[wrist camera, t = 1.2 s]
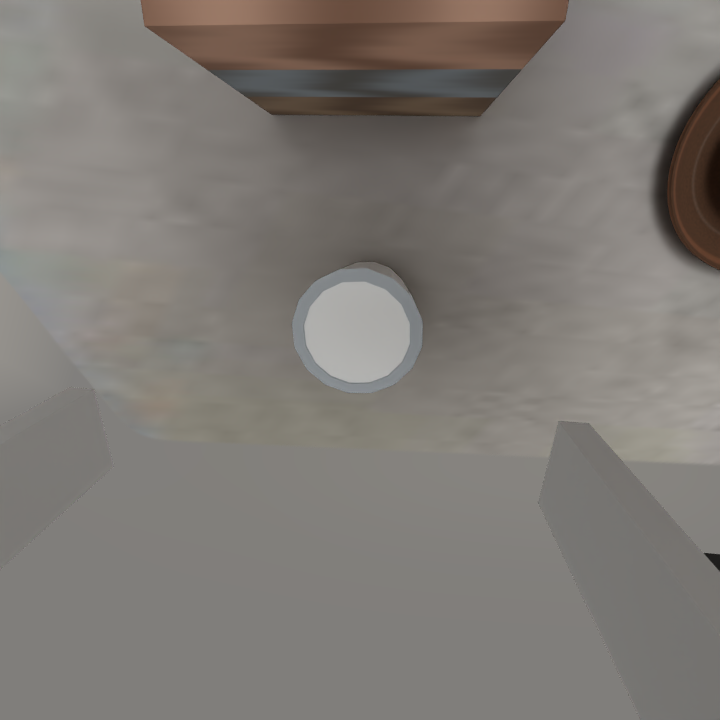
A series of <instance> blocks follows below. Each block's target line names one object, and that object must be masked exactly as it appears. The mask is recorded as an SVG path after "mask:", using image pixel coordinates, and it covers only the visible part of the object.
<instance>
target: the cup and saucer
mask: <svg viewBox="0 0 720 720" xmlns="http://www.w3.org/2000/svg"><path fill="white" fill-rule="evenodd" d="M667 197H668V207H669V213H670V217H671V221H672V224H673V226H674V228H675V231H676V233H677V235H678V236H679V238H680V240H681V241H682V242H683V244H684V245H685V246H686V248H687V249H688V250H689V251H690V252H691V253H692V254H693V255H695V256H696V257H697V258H699V259H700V260H701V261H703V262H705V263H706V264H708V265H710V266H712V267H714V268H716V269H719V270H720V79H719V80H718V81H717V82H716V83H715V84H714V86H713V87H712V88H711V89H710V90H709V92H708V93H707V94H706V95H705V97H704V98H703V99H702V101H701V102H700V103H699V105H698V106H697V108H696V109H695V111H694V112H693V114H692V116H691V117H690V119H689V120H688V122H687V124H686V126H685V128H684V130H683V132H682V134H681V136H680V139H679V141H678V143H677V146H676V149H675V152H674V155H673V158H672V162H671V166H670V170H669V177H668V188H667Z"/></svg>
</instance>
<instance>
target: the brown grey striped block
mask: <svg viewBox="0 0 720 720" xmlns="http://www.w3.org/2000/svg"><path fill="white" fill-rule="evenodd" d="M568 2H569V0H141V5H142V12H143V19H144V25H145V27H147V28H148V29H150V30H151V31H152V32H154V33H155V34H157V35H158V36H160V37H161V38H163V39H164V40H165V41H167V42H168V43H170V44H171V45H173V46H174V47H175V48H177V49H178V50H180V51H181V52H183V53H184V54H185V55H187V56H188V57H190V58H191V59H193V60H194V61H196V62H197V63H198V64H200V65H201V66H203V67H204V68H206V69H207V70H208V71H210V72H211V73H213V74H214V75H216V76H217V77H218V78H220V79H221V80H223V81H224V82H226V83H227V84H228V85H230V86H231V87H233V88H234V89H236V90H237V91H239V92H240V93H241V94H243V95H244V96H246V97H247V98H249V99H250V100H251V101H253V102H254V103H256V104H257V105H259V106H260V107H261V108H263V109H264V110H266V111H267V112H269V113H270V114H272V115H403V116H481V115H482V114H483V112H484V111H485V110H486V109H487V108H488V107H489V106H490V105H491V103H492V102H493V101H494V100H495V99H496V98H497V97H498V96H499V94H500V93H501V92H502V91H503V90H504V89H505V88H506V87H507V85H508V84H509V83H510V82H511V81H512V80H513V79H514V78H515V76H516V75H517V74H518V73H519V72H520V71H521V70H522V69H523V67H524V66H525V65H526V64H527V63H528V62H529V61H530V60H531V58H532V57H533V56H534V55H535V54H536V53H537V52H538V51H539V49H540V48H541V47H542V46H543V45H544V44H545V43H546V42H547V40H548V39H549V38H550V37H551V36H552V35H553V34H554V33H555V31H556V30H557V29H558V28H559V27H560V26H561V25H562V24H563V22H564V21H565V19H566V13H567V8H568Z"/></svg>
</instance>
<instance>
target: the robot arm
mask: <svg viewBox="0 0 720 720" xmlns="http://www.w3.org/2000/svg"><path fill="white" fill-rule="evenodd" d="M113 467H114V464H113V460H112V456H111V452H110V448H109V445H108V441H107V437H106V433H105V430H104V425H103V421H102V418H101V414H100V410H99V406H98V402H97V398H96V395H95V391H94V389H87V388H73V387H69V388H67V389H66V390H64V391H62V392H60V393H58V394H56V395H54V396H53V397H51V398H49V399H47V400H45V401H44V402H42V403H40V404H38V405H36V406H34V407H32V408H31V409H29V410H27V411H25V412H23V413H22V414H20V415H18V416H16V417H14V418H12V419H10V420H8V421H7V422H5V423H3V424H1V425H0V570H1V569H2V568H3V567H4V566H5V565H6V564H7V563H8V562H9V561H11V560H12V559H13V558H14V557H15V556H16V555H17V554H18V553H19V552H21V551H22V550H23V549H24V548H25V547H26V546H27V545H28V544H29V543H31V542H32V541H33V540H34V539H35V538H36V537H37V536H38V535H39V534H40V533H41V532H43V531H44V530H45V529H46V528H47V527H48V526H49V525H50V524H51V523H53V522H54V521H55V520H56V519H57V518H58V517H59V516H60V515H61V514H63V513H64V511H66V510H67V509H68V508H69V507H70V506H71V505H72V504H74V503H75V502H76V501H77V500H78V499H79V498H80V497H81V496H82V495H83V494H85V493H86V492H87V491H88V490H89V489H90V488H91V487H92V486H93V485H94V484H96V482H98V481H99V480H100V479H101V478H102V477H103V476H104V475H106V474H107V473H108V472H109V471H110V470H111V469H112V468H113ZM538 504H539V506H540V508H541V510H542V512H543V515H544V516H545V519H546V521H547V523H548V525H549V527H550V529H551V532H552V534H553V536H554V538H555V540H556V542H557V544H558V546H559V548H560V551H561V553H562V555H563V557H564V559H565V561H566V563H567V565H568V568H569V570H570V572H571V574H572V576H573V578H574V580H575V582H576V585H577V587H578V589H579V591H580V593H581V595H582V597H583V599H584V602H585V604H586V606H587V608H588V610H589V612H590V614H591V616H592V619H593V621H594V622H595V625H596V627H597V629H598V631H599V633H600V636H601V637H602V640H603V642H604V644H605V646H606V648H607V650H608V653H609V654H610V657H611V659H612V661H613V663H614V665H615V667H616V669H617V672H618V674H619V676H620V678H621V680H622V682H623V684H624V686H625V689H626V690H627V693H628V695H629V697H630V699H631V701H632V703H633V706H634V708H635V710H636V712H637V714H638V716H639V718H640V720H720V554H709V553H703V552H702V551H701V550H700V549H699V548H698V546H696V544H695V543H694V542H693V541H692V540H691V538H690V537H689V536H688V535H687V534H686V533H685V532H684V531H683V529H682V528H681V527H680V526H679V525H678V524H677V523H676V522H675V520H674V519H673V518H672V517H671V516H670V515H669V514H668V512H667V511H666V510H665V509H664V508H663V507H662V506H661V505H660V503H659V502H658V501H657V500H656V499H655V498H654V497H653V495H652V494H651V493H650V492H649V491H648V490H647V489H646V488H645V486H644V485H643V484H642V483H641V482H640V481H639V480H638V478H637V477H636V476H635V475H634V474H633V473H632V472H631V470H630V469H629V468H628V467H627V466H626V465H625V464H624V463H623V461H622V460H621V459H620V458H619V457H618V456H617V455H616V453H615V452H614V451H613V450H612V449H611V448H610V447H609V446H608V444H607V443H606V442H605V441H604V440H603V439H602V438H601V436H600V435H599V434H598V433H597V432H596V431H595V430H594V429H593V427H592V426H591V425H590V424H589V423H579V422H564V421H559V422H558V426H557V430H556V434H555V438H554V442H553V446H552V450H551V454H550V458H549V462H548V466H547V470H546V473H545V477H544V481H543V485H542V489H541V493H540V498H539V501H538Z"/></svg>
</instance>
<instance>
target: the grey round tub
mask: <svg viewBox="0 0 720 720" xmlns="http://www.w3.org/2000/svg"><path fill="white" fill-rule="evenodd" d="M292 329H293V337H294V345H295V349H296V351H297V353H298V354H299V356H300V358H301V360H302V362H303V364H304V365H305V367H306V369H307V370H308V371H310V372H311V373H312V374H313V375H314V376H315V377H317V378H318V379H319V380H320V381H321V382H323V383H324V384H325V385H327V386H330V387H333V388H336V389H338V390H341V391H344V392H347V393H373V392H376V391H379V390H381V389H384V388H387V387H389V386H392V385H395V384H396V383H397V382H398V381H399V380H400V379H401V378H402V377H403V376H404V375H405V374H407V373H408V372H409V371H410V370H411V369H412V368H413V366H414V363H415V361H416V359H417V357H418V355H419V352H420V350H421V348H422V331H423V321H422V318H421V316H420V314H419V311H418V309H417V307H416V304H415V302H414V300H413V297H412V295H411V294H410V292H409V291H408V289H407V287H406V286H405V284H404V282H403V281H402V279H401V278H400V277H399V276H398V275H397V274H396V273H395V272H394V271H393V270H392V269H391V268H389V267H387V266H384V265H381V264H379V263H376V262H357V263H354V264H352V265H349V266H346V267H344V268H341V269H339V270H337V271H335V272H332V273H330V274H328V275H326V276H324V277H322V278H320V279H318V280H316V281H315V282H314V283H313V284H312V285H311V286H310V288H309V289H308V290H307V291H306V292H305V293H304V295H303V296H302V297H301V298H300V299H299V301H298V304H297V308H296V311H295V315H294V318H293V321H292Z"/></svg>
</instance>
